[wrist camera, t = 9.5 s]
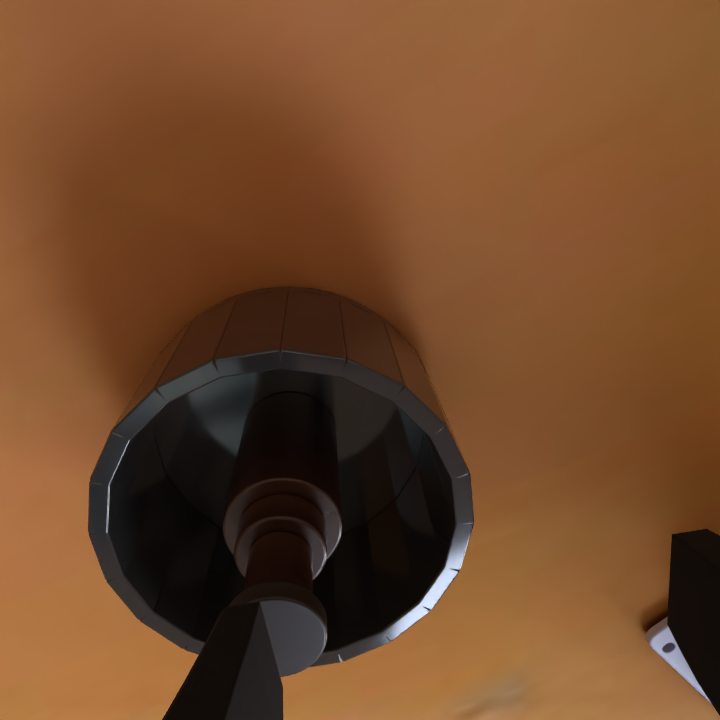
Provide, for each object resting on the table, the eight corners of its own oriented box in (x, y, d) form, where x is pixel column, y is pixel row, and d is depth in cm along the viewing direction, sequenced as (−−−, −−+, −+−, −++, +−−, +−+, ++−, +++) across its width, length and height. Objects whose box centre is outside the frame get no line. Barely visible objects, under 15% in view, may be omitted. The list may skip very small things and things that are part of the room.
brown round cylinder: (492, 423, 21) (547, 522, 16) (295, 587, 23) (290, 720, 18) (288, 220, 18) (277, 263, 13) (82, 428, 20) (5, 535, 15)
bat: (355, 432, 20) (380, 635, 13) (291, 489, 21) (277, 716, 13) (288, 373, 20) (271, 553, 12) (223, 434, 20) (165, 643, 12)
